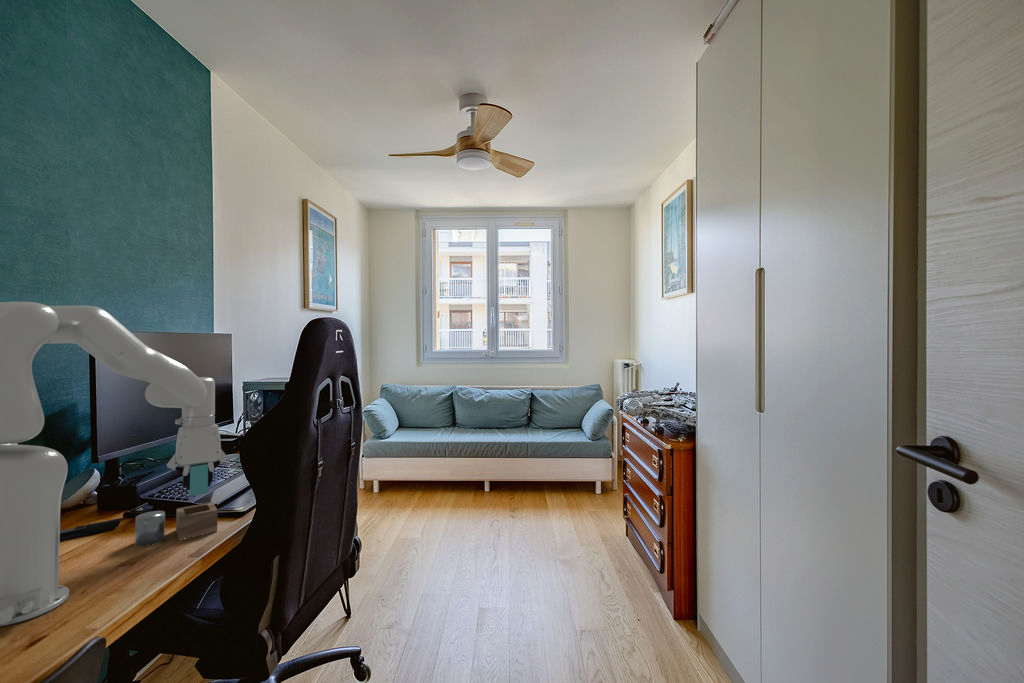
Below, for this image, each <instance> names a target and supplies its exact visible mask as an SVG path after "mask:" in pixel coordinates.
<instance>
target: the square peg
mask: <svg viewBox="0 0 1024 683" xmlns="http://www.w3.org/2000/svg"><path fill="white" fill-rule="evenodd" d="M189 475H190V489H189V490H187V492H188V495H189V497H192V496H197V495H204V494H208V491H209V488H208V487H209V486H208V464H207V462H206V463H199V464H192V465H190V468H189Z"/></svg>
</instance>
